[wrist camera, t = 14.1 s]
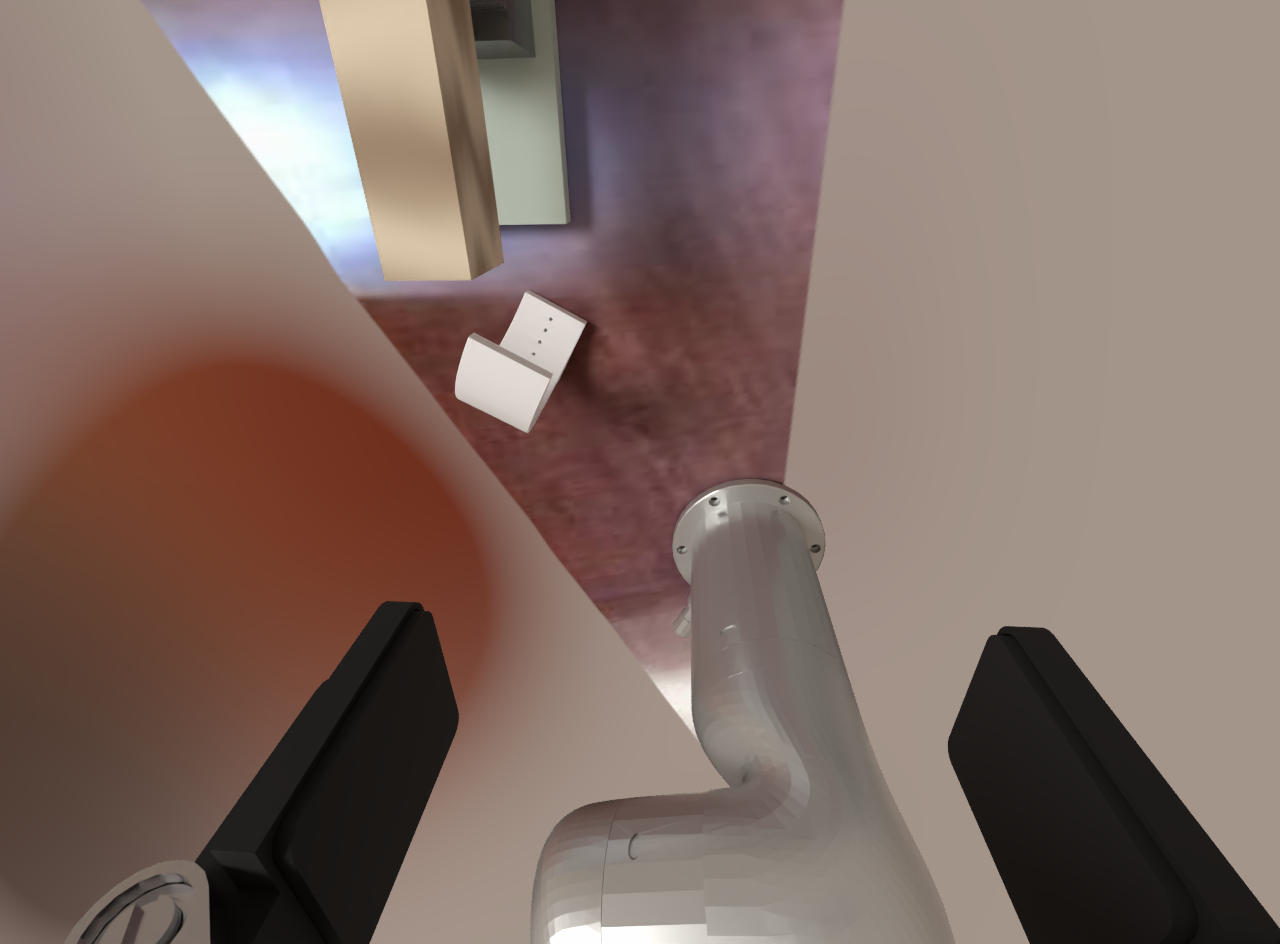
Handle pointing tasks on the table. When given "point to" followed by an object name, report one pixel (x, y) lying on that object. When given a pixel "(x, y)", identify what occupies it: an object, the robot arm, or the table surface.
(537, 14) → the stand board
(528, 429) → the headphone stand
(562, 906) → the robot arm
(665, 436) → the table surface
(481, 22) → the stepped metal block
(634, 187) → the table surface
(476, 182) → the beech bar
